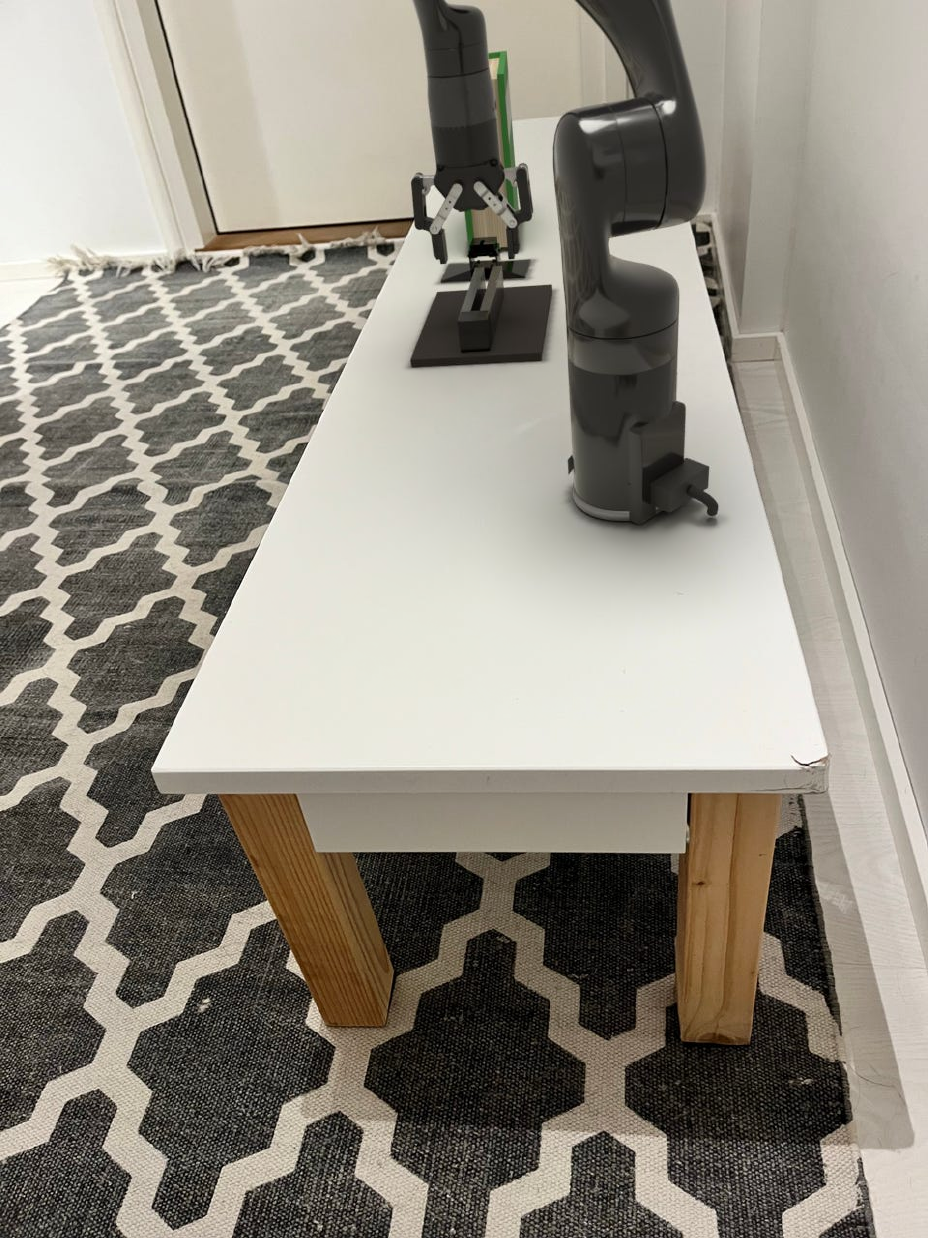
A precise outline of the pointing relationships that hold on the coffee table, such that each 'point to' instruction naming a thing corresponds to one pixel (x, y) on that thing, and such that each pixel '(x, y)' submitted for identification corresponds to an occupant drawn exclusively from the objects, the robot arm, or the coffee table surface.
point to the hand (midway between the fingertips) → (478, 259)
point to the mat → (513, 336)
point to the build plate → (485, 263)
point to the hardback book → (488, 220)
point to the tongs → (481, 311)
